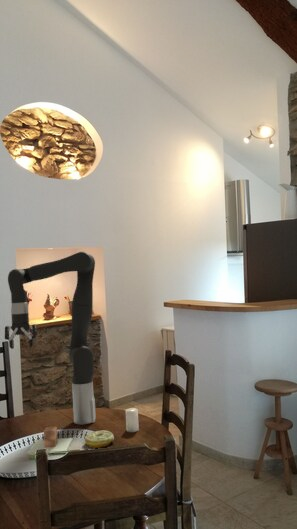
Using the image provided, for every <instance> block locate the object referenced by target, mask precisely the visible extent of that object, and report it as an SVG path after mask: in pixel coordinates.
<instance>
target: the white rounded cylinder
mask: <svg viewBox="0 0 297 529" xmlns="http://www.w3.org/2000/svg"><path fill="white" fill-rule="evenodd" d="M138 410H139V409H138V408H134V407H132V408H127V409H125V424H126V428H125V429H126V432H127V433H135V432H138V431H139V430H140V428H139V427H140V426H139V411H138Z"/></svg>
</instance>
